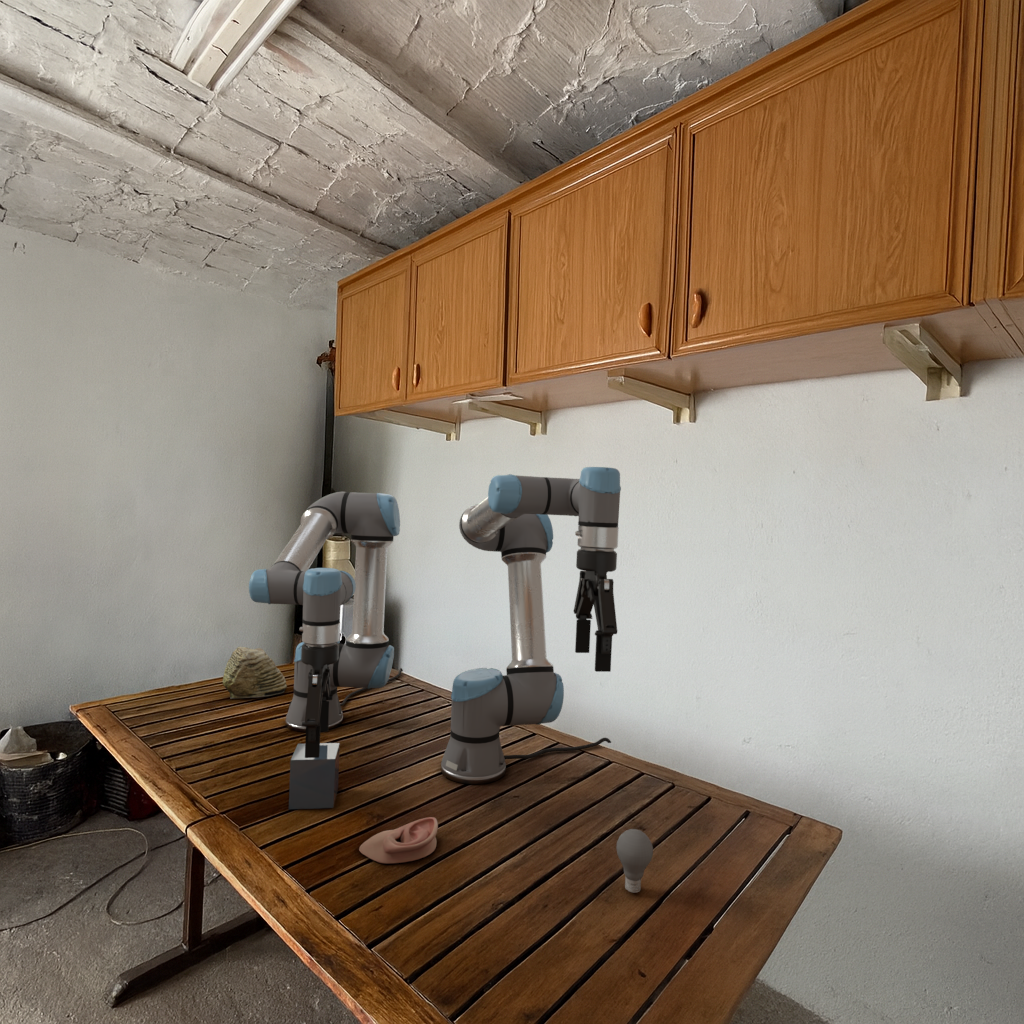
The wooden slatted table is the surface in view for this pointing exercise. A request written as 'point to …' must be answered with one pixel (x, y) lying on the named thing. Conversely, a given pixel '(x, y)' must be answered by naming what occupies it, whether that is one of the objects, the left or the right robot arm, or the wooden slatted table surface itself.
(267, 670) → the fossil
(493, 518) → the right robot arm
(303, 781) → the block
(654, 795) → the wooden slatted table surface
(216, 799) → the wooden slatted table surface
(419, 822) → the anatomical model
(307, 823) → the wooden slatted table surface
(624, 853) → the light bulb
